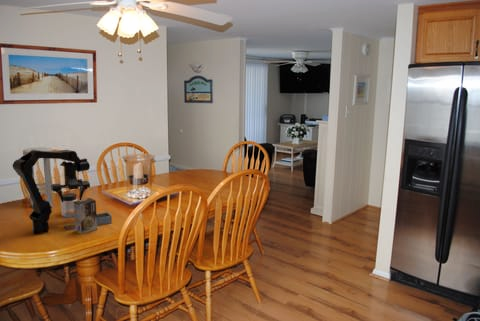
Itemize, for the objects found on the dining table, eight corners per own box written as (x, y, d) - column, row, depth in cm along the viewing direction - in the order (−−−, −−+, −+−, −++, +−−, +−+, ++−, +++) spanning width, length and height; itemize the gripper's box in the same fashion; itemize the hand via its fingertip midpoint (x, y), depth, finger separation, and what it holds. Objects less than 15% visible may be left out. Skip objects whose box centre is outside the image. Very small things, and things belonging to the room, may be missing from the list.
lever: (66, 218, 199) (66, 215, 199) (62, 211, 209) (61, 208, 209) (94, 214, 207) (94, 210, 207) (88, 207, 217) (88, 204, 217)
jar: (66, 212, 227) (64, 192, 225) (80, 212, 228) (78, 192, 225) (59, 217, 219) (58, 197, 216) (74, 217, 219) (72, 197, 217)
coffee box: (91, 226, 206) (89, 197, 203) (97, 229, 202) (96, 200, 199) (74, 231, 199) (73, 201, 196) (81, 234, 195) (79, 203, 192)
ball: (67, 216, 200) (67, 210, 199) (66, 215, 203) (66, 208, 202) (74, 215, 202) (74, 209, 201) (73, 213, 205) (73, 207, 204)
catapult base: (66, 230, 199) (65, 220, 198) (64, 226, 204) (63, 216, 203) (96, 225, 208) (95, 215, 207) (93, 221, 213) (93, 212, 212)
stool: (57, 205, 239) (53, 150, 232) (29, 209, 230) (24, 152, 223) (53, 199, 251) (49, 146, 244) (26, 203, 242) (21, 148, 236)
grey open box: (97, 225, 207) (96, 217, 206) (93, 221, 213) (93, 213, 213) (111, 223, 212) (111, 215, 211) (107, 219, 218) (107, 211, 217)
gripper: (54, 178, 195) (56, 207, 198) (92, 174, 206) (93, 202, 209) (50, 173, 204) (51, 202, 207) (86, 170, 215) (87, 197, 218)
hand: (71, 201), depth 210 cm, fingers open, 9 cm apart
